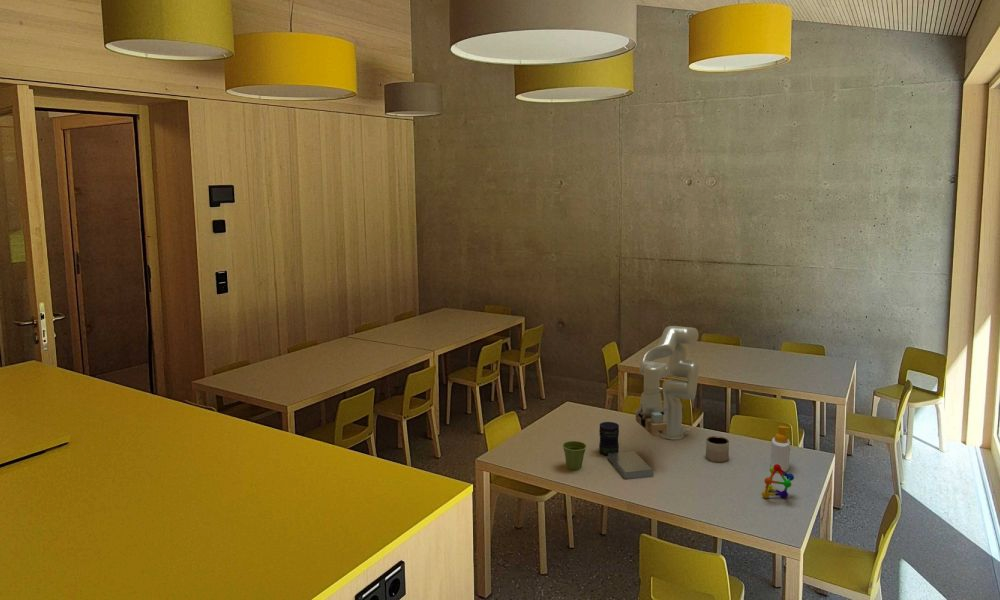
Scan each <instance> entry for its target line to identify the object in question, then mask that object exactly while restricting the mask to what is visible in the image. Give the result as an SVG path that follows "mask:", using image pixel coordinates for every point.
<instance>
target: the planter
mask: <svg viewBox="0 0 1000 600" xmlns="http://www.w3.org/2000/svg"><path fill="white" fill-rule="evenodd" d="M705 442H706V443H705V445H706V446H705V458H706V459H707V460H708V461H711V462H713V463H725V462H727V461H728V460H729V456H730V455H729V454H730V452H729V451H730V449H729V448H730V441H729V439H728V438H725V437H723V436H716V435H715V436H709V437H707V438H706V441H705Z"/></svg>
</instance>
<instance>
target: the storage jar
mask: <svg viewBox="0 0 1000 600" xmlns="http://www.w3.org/2000/svg"><path fill="white" fill-rule="evenodd" d="M619 427H620V424H618V423H617V422H613V421H604V422H600V423H599V430H598V432H599V434H598V435H599V445H598V446H599V447H598V448H599V455H600V456H602V455H603V457H607V458H608V453H616V452H619V448H620V446H619V436H620V435H619V434H620V428H619Z"/></svg>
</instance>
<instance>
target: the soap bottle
mask: <svg viewBox="0 0 1000 600" xmlns="http://www.w3.org/2000/svg"><path fill="white" fill-rule="evenodd" d="M785 430H787V431H788V430H789V431H790V430H791V427H790V426H786V425H779V426H778V433H776V434H775V435H774V437H772V439H771V448H770V449H771V451H770V468H771V467H774V465H775V464H779V465H780V466H781V469H782V470H783V471H784V472H787V471H789V469H790V453H791V442H790V440H789V438H788V436H787V434H785Z"/></svg>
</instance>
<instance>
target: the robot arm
mask: <svg viewBox="0 0 1000 600" xmlns="http://www.w3.org/2000/svg"><path fill="white" fill-rule="evenodd" d="M698 339H699V330H698V329H697V328H695V327H690V326H689V327H688V326H680V325H679V326H678V325H669V326H666V327H665V328H664V330H663V332H662V334H661V337H660V339H659V342H658V343H657V345H656V346H653V347H652V348H651V349H649V350H648V351H646V352H645V354H644V355H643V357H642V359H641V362H640V364H639V373H640V374H641V375H642V376H643V392H641V395H640V402H639V407H638V408H637V409H635V414H636V413H637V414H638V416H639V417H641V425H642V426H643V427H645V416H646V414H651V413H654V412H660V413H661V414H662V420H663V421H664V422H665V423H666V424H667V435H662V434H661V433H660V432H659V435H660V437H661V438H663V439H666V440H672V441H676V440H677V441H678V440H679V441H680V440H682V439H683V438H684V437H685V433H691V429H690V428H689V427H688V428H686V427H682V421H683V418H682V416H683V404H682V402H681V399H683V400H684V399H685V400H694V399H695V397H696V395H697V390H698V388H697V387H698V380H699V365H698V363H697V362H696V361H693V360H687V359H686V358H687V349H686V346H685V345H694V344H696V343H697V342H698ZM684 344H685V345H684ZM667 357H668V364H667V363H665V362H660V361H658V362H657V361H655V360H658V359H662V358H667ZM668 375H669V376H671V377H676V379H675V378H667V379H665V378H666V377H668ZM677 378H682V379H677ZM661 379H665V380H663V382H662V387H660V386H661V385H660V380H661ZM683 379H687V380H683ZM661 391H662V393H661ZM662 395H663V399H662ZM640 411H641V412H642V413H641V414H640V413H639V412H640ZM641 425H640V426H641ZM642 426H641V427H642Z"/></svg>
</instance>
